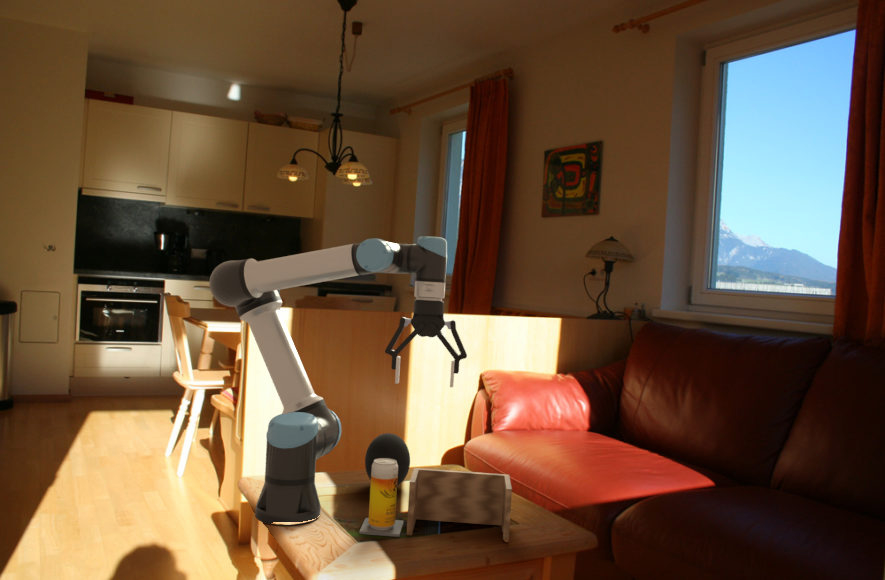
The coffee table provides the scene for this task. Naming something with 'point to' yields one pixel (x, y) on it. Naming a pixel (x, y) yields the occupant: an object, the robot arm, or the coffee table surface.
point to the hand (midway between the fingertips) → (424, 384)
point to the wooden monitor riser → (459, 498)
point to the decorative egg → (389, 454)
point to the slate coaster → (393, 531)
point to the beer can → (383, 493)
